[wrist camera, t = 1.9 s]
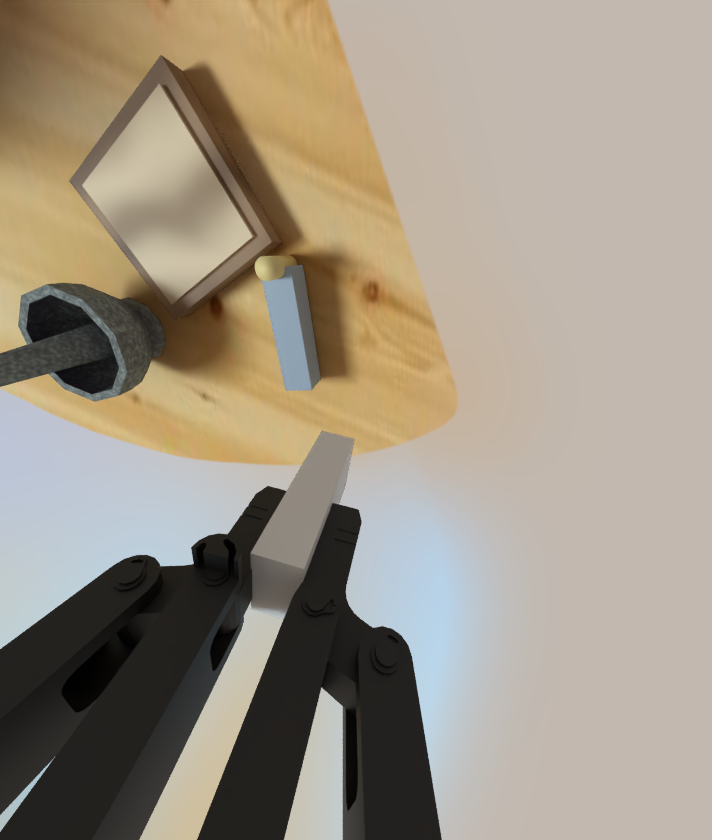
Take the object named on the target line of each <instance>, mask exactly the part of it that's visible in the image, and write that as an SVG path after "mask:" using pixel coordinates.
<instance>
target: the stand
mask: <svg viewBox="0 0 712 840" xmlns="http://www.w3.org/2000/svg"><path fill="white" fill-rule="evenodd" d="M70 183H71V184H72V185H73V187H74V188H75V189H76V191H77V192H78V193H79V195H80V196H81V197H82V199H83V200H84V201H85V203H86V204H87V205H88V206H89V208H90V209H91V210H92V212H93V213H94V214H95V216H96V217H97V218H98V220H99V221H100V222H101V224H102V225H103V226H104V228H105V229H106V230H107V231H108V233H109V234H110V235H111V237H112V238H113V239H114V241H115V242H116V243H117V245H118V246H119V247H120V249H121V250H122V251H123V253H124V254H125V255H126V257H127V258H128V259H129V260H130V262H131V263H132V264H133V266H134V267H135V268H136V270H137V271H138V272H139V274H140V275H141V276H142V278H143V279H144V280H145V282H146V283H147V284H148V285H149V287H150V288H151V289H152V291H153V292H154V293H155V295H156V296H157V297H158V299H159V300H160V301H161V303H162V304H163V305H164V307H165V308H166V309H167V311H168V312H169V313H170V314H171V316H172V317H173V318H174V320H175V319H179V318H183V317H186V316H189V315H190V314H192V313H193V312H194V311H196V310H197V309H198V308H199V307H201V306H202V305H203V304H205V303H206V302H207V301H208V300H210V299H211V298H212V297H213V296H215V295H216V294H217V293H219V292H220V291H221V290H222V289H224V288H225V287H226V286H227V285H229V284H230V283H231V282H233V281H234V280H235V279H236V278H238V277H239V276H240V275H242V274H243V273H244V272H245V271H247V270H248V269H249V268H250V267H252V266H253V265H254V264H255V262H256V260H257V259H258V258H259V257H261V256H266V255H267V254H268V253H270V252H271V251H272V250H273V249H275V248H276V247H277V246H279V245H280V244H281V243H282V241H281V239H280V237H279V236H278V234H277V232H276V230H275V229H274V227H273V225H272V224H271V222H270V220H269V218H268V217H267V215H266V213H265V212H264V210H263V208H262V206H261V205H260V203H259V201H258V200H257V198H256V196H255V194H254V193H253V191H252V189H251V188H250V186H249V184H248V182H247V181H246V179H245V177H244V176H243V174H242V172H241V170H240V169H239V167H238V165H237V164H236V162H235V160H234V159H233V157H232V155H231V153H230V152H229V150H228V148H227V147H226V145H225V143H224V141H223V140H222V138H221V136H220V135H219V133H218V131H217V129H216V128H215V126H214V124H213V123H212V121H211V119H210V117H209V116H208V114H207V112H206V111H205V109H204V107H203V105H202V104H201V102H200V100H199V99H198V97H197V95H196V93H195V92H194V90H193V88H192V87H191V85H190V83H189V81H188V80H187V78H186V76H185V75H184V73H183V71H182V70H181V69H179V68H178V67H177V66H175V65H174V64H172V63H171V62H170V61H168V60H167V59H166V58H164V57H163V56H162V55H161V56H160V57H159V58H158V60H157V61H156V63H155V64H154V65H153V67H152V68H151V69H150V71H149V72H148V74H147V75H146V76H145V78H144V79H143V80H142V82H141V83H140V85H139V86H138V87H137V89H136V90H135V91H134V93H133V94H132V96H131V97H130V98H129V100H128V101H127V102H126V104H125V105H124V107H123V108H122V109H121V111H120V112H119V113H118V115H117V116H116V117H115V119H114V120H113V122H112V123H111V124H110V126H109V127H108V128H107V130H106V131H105V133H104V134H103V135H102V137H101V138H100V139H99V141H98V142H97V144H96V145H95V146H94V148H93V149H92V150H91V152H90V153H89V155H88V156H87V157H86V159H85V160H84V161H83V163H82V164H81V166H80V167H79V168H78V170H77V171H76V172H75V174H74V175H73V177H72V178H71V179H70Z"/></svg>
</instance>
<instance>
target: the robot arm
mask: <svg viewBox="0 0 712 840" xmlns="http://www.w3.org/2000/svg"><path fill="white" fill-rule="evenodd" d="M353 444H354V439H353V438H349V437H345V436H341V435H337V434H333V433H329V432H325V431H322V432H321V433H320V435H319V437H318V438H317V440H316V442H315V444H314V445H313V447H312V449H311V450H310V452H309V454H308V456H307V457H306V459H305V461H304V462H303V464H302V466H301V467H300V469H299V471H298V473H297V474H296V476H295V478H294V480H293V481H292V483H291V485H290V486H289V488H288V490H287V491H284V490H281V489H277V488H273V487H270V486H267V487H266V488H264V489H263V490H262V491H260V492H258V493H257V494H256V495H255V496H254V498H253V499H252V501H251V502H250V503H249V506H248V507H247V508H246V509H245V511H244V512H243V514H242V516H240V518H239V519H238V521H237V522H236V523H235V525H234V526H233V528H232V529H231V531H230V532H229V533H228V534H214V535H209V536H207V537H205V538H203V539H201V540H199V541H198V542H197V543H196V544H195V545H194V546H192V547H191V549H192V555H193V561H194V564H192V565H185V566H163V567H162V566H160V564H159V562H158V561H157V560H156V559H155V558H154V557H151V556H148V555H136V556H133V557H130V558H126V559H124V560H122V561H120V562H119V563H117V564H115V565H113V566H112V567H111V568H109V569H108V570H107V571H105V572H104V573H103V574H101V575H100V576H99V577H97V578H96V579H95V580H93V581H92V582H90V583H89V584H88V585H87V586H85V587H84V588H82V589H81V590H80V591H78V592H77V593H76V594H74V595H73V596H72V597H70V598H69V599H68V600H66V601H65V602H63V603H62V604H61V605H59V606H58V607H57V608H55V609H54V610H53V611H51V612H50V613H49V614H47V615H46V616H45V617H43V618H42V619H41V620H39V621H38V622H37V623H35V624H34V625H32V626H31V627H30V628H29V629H27V630H26V631H25V632H23V633H22V634H20V635H19V636H18V637H17V638H15V639H14V640H12V641H11V642H10V643H8V644H7V645H5V646H4V647H3V648H2V649H0V814H2V812H3V811H4V810H5V809H6V808H7V807H8V806H9V805H10V804H11V803H12V802H13V801H14V800H15V799H16V798H17V797H18V795H19V794H20V793H21V792H22V791H23V790H24V789H25V788H26V787H27V786H28V785H29V784H30V783H31V782H32V781H33V779H34V778H35V777H36V776H37V775H38V774H39V773H40V772H41V771H42V770H43V769H44V768H45V766H47V765H48V764H49V763H50V761H51V760H52V759H53V758H54V757H55V756H56V757H55V758H54V759H53V761H52V762H51V763H50V765H49V766H48V768H47V769H46V770H45V772H44V773H43V774H42V776H41V777H40V779H39V780H38V781H37V783H36V784H35V785H34V787H33V788H32V789H31V791H30V792H29V794H28V795H27V796H26V798H25V799H24V800H23V802H22V803H21V805H20V806H19V807H18V809H17V810H16V811H15V813H14V814H13V816H12V817H11V818H10V820H9V821H8V822H7V824H6V825H5V826H4V828H3V829H2V830H1V832H0V840H139V839H140V837H141V835H142V833H143V830H144V829H145V826H146V825H147V823H148V821H149V818H150V816H151V814H152V812H153V810H154V808H155V806H156V804H157V802H158V800H159V798H160V796H161V794H162V792H163V790H164V788H165V786H166V784H167V782H168V779H169V777H170V775H171V773H172V771H173V769H174V767H175V765H176V763H177V761H178V759H179V757H180V754H181V753H182V751H183V749H184V747H185V744H186V742H187V740H188V738H189V736H190V734H191V732H192V730H193V728H194V726H195V724H196V722H197V720H198V718H199V716H200V714H201V712H202V710H203V708H204V705H205V703H206V701H207V699H208V697H209V695H210V693H211V691H212V689H213V687H214V685H215V683H216V681H217V679H218V676H219V675H220V673H221V671H222V668H223V666H224V664H225V662H226V660H227V658H228V656H229V654H230V652H231V650H232V648H233V646H234V644H235V642H236V640H237V638H238V635H239V633H240V631H241V629H242V626H243V622H244V614H245V612H246V610H247V608H248V606H249V604H250V602H251V609H252V610H255V611H259V612H262V613H265V614H268V615H271V616H274V617H278V618H281V619H284V620H283V622H282V625H281V627H280V630H279V633H278V635H277V638H276V640H275V643H274V645H273V648H272V651H271V653H270V655H269V658H268V660H267V663H266V666H265V668H264V671H263V673H262V676H261V679H260V681H259V683H258V686H257V688H256V691H255V694H254V696H253V699H252V702H251V704H250V706H249V709H248V711H247V714H246V717H245V719H244V722H243V724H242V727H241V730H240V732H239V734H238V737H237V740H236V742H235V744H234V747H233V750H232V752H231V755H230V757H229V760H228V762H227V765H226V767H225V770H224V773H223V775H222V778H221V780H220V783H219V785H218V788H217V790H216V793H215V795H214V798H213V800H212V803H211V806H210V808H209V811H208V813H207V816H206V818H205V821H204V824H203V826H202V829H201V831H200V834H199V837H198V839H197V840H284V837H285V833H286V829H287V825H288V821H289V816H290V812H291V808H292V804H293V800H294V796H295V792H296V788H297V784H298V780H299V776H300V771H301V768H302V764H303V760H304V755H305V751H306V747H307V743H308V739H309V735H310V731H311V727H312V723H313V719H314V715H315V711H316V706H317V702H318V698H319V694H320V690H321V687H322V688H323V689H324V690H325V691H327V692H328V693H329V694H330V695H331V696H332V697H333V698H334V699H335V700H337V701H338V702H339V703H340V704H341V705H342V706H343V840H442V839H441V833H440V827H439V820H438V814H437V808H436V802H435V796H434V790H433V783H432V777H431V771H430V765H429V759H428V753H427V747H426V740H425V734H424V729H423V722H422V716H421V710H420V704H419V697H418V691H417V685H416V679H415V673H414V667H413V661H412V656H411V653H410V650H409V647H408V645H407V643H406V642H405V640H404V639H403V637H402V636H401V635H399V634H398V633H397V632H396V631H394V630H393V629H390V628H386V627H383V626H382V627H377V628H372V627H371V626H369V625H368V624H367V623H365V622H364V621H363V620H361V619H360V618H359V617H357V615H355V614H354V613H353V611H352V610H351V608H350V607H349V605H348V602H347V599H346V584H347V580H348V576H349V572H350V567H351V563H352V559H353V555H354V551H355V547H356V543H357V539H358V534H359V530H360V526H361V517H360V514H359V510H357V509H354V508H350V507H347V506H342V505H339V503H340V500H341V497H342V494H343V491H344V488H345V485H346V480H347V475H348V470H349V465H350V460H351V454H352V449H353Z"/></svg>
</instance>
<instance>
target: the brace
mask: <svg viewBox="0 0 712 840" xmlns="http://www.w3.org/2000/svg"><path fill="white" fill-rule="evenodd" d="M255 271H256V274H257V275H258V277H259V278H260V279H262V283H263V287H264V292H265V296H266V301H267V306H268V310H269V315H270V320H271V324H272V329H273V334H274V338H275V343H276V347H277V352H278V357H279V361H280V366H281V371H282V375H283V380H284V385H285V389H286V391H288V390H312V389H313V388H314V387H315V386H316V384H317V383H318V382H319V381H320V379H321V377H320V370H319V364H318V358H317V351H316V345H315V339H314V332H313V326H312V320H311V313H310V307H309V300H308V294H307V288H306V281H305V275H304V269H303V265H298V264H297V261H296V260H295V258H294V257H292V256H290V255H281V256H261V257H259V258H258V259H257V260H256V262H255Z"/></svg>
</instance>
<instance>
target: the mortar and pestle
mask: <svg viewBox="0 0 712 840" xmlns="http://www.w3.org/2000/svg"><path fill="white" fill-rule="evenodd" d="M18 326H19V328H20V330H21V333H22V335H23V337H24V339H25V341H26V343H27V345H25V346H22V347H19V348H16V349H13V350H10V351H6V352H3V353H0V387H1V386H4V385H8V384H12V383H16V382H19V381H23V380H27V379H30V378H34V377H38V376H41V375H45V374H49V375H50V376H51V377H52V378H53V379H54V380H55V381H56V382H58V383H59V384H60V385H61V386H62V387H63V388H64V389H66V390H68V391H70V392H73V393H75V394H78V395H80V396H83V397H85V398H87V399H90V400H92V401H99V400H103V399H107V398H111V397H115V396H119V395H121V394H123V393H125V392H127V391H129V390H131V389H133V388H134V387H135V386H137V385H138V384H139V383H141V382H142V380H143V378H144V376H145V374H146V373H147V370H148V368H149V365H150V363H151V360H152V358H155V357H158V356H161V353H162V351H163V349H164V346H165V344H166V339H165V335H164V332H163V328H162V324H161V322H160V321H159V319H158V318H157V317H156V316H155V315H154V314H153V312H152V311H151V310H150V309H149V308H148V307H147V305H145V304H142V303H140V302H137V301H135V300H133V299H130V298H124V299H121V300H120V299H118V298H115V297H113V296H110V295H108V294H106V293H103V292H101V291H98V290H96V289H93V288H91V287H88V286H86V285H83V284H71V283H57V284H46V285H44V286H42V287H39V288H37V289H35V290H33V291H30V292H28V293H26V294H24V295H22V296H21V303H20V313H19V324H18Z"/></svg>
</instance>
